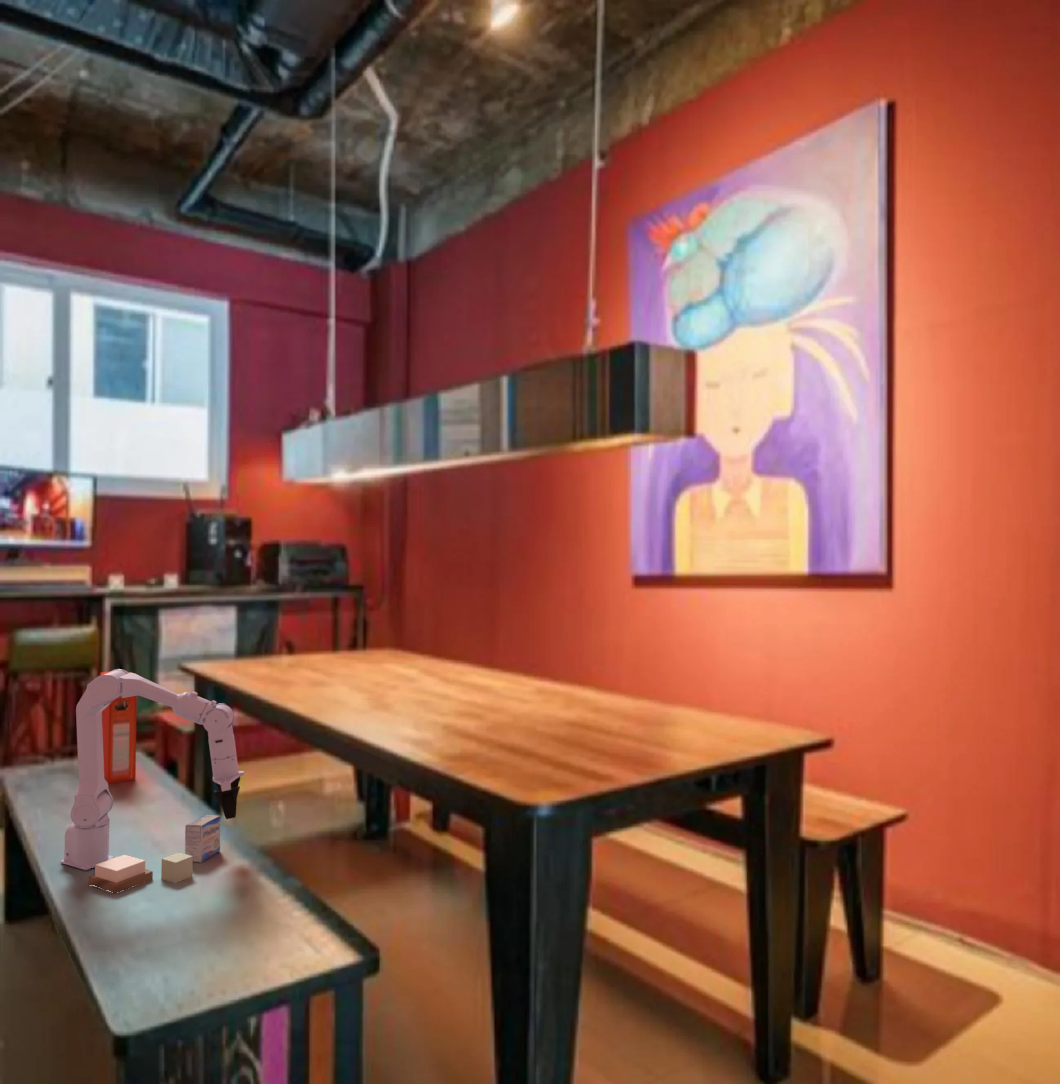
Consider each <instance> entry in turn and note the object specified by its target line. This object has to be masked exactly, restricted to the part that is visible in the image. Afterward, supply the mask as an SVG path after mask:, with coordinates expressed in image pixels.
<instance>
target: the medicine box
mask: <svg viewBox="0 0 1060 1084" xmlns="http://www.w3.org/2000/svg"><path fill="white" fill-rule="evenodd" d="M221 818H222V817H221V815H215V814H205V815H202V816H200V817H198V818H197V819H194V820H192V821H191V822H188V823H187V824H185V828H184V830H185V831H184V835H185V836H184V838H185V839H184V842H185V843H184V854H187V855H190V856H193V863H203V862H205V861H206V859H207V860H208V859H210V858H211V857H213V856H214V855H216V854H218V853H219V852H220V851H221ZM217 852H218V853H217ZM212 855H213V856H212ZM209 857H210V858H209ZM204 860H205V861H204Z"/></svg>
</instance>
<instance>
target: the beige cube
mask: <svg viewBox="0 0 1060 1084" xmlns="http://www.w3.org/2000/svg"><path fill="white" fill-rule="evenodd" d="M193 863H194V862H193V856H190V855H187V854H185V853H182V852H176V853H174V854H171V855H168V856H165V857H163V858H161V872H160V873H161V876H160V878H161V880H164V881H167V882H170V881H171V882H170V883H174V882H175V883H174V884H177V883H178V881H179V882H181V881H183V880H186V879H189V878H192V877H193V868H194V867H193Z"/></svg>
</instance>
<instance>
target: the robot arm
mask: <svg viewBox="0 0 1060 1084" xmlns="http://www.w3.org/2000/svg"><path fill="white" fill-rule="evenodd" d="M108 672H109V673H107V674H104V675H100V674H99V675H98V676H96V677H95V678H94V679H93V680H91V681H90V682H89V683H87V685H86V689H85V691H84V692H83V694H82V696H81V697H80V699H79V701H78V703H77V704H76V709H75V716H76V717H75V718H76V742H77V744H76V745H77V746H76V747H77V768H78V786H77V788H76V791H75V794H74V801H73V802H74V803H73V806H72V808H71V810H70V820H71V821H72V823H70V824H69V826H68V827H67V828H66V830H65V833H64V849H63V850H64V851H63V852H64V857H63V859H61V860H60V863H61V864H64V865H67V866H71V867H73V868H75V869H76V868H77V869H79V870H83V871H88V870H91V868H92V869H93V868H94V869H95V865H96V864H99V863H102V862H105V861H108V860H111V859H113V858H116V857H117V856H113V855H110V854H109V853H110V816H109V815H108V814H109V812H110V811H111V810H112V808H113V806H114V797H113V796H112V794H111V792H110V790H109V783H108V782H107V780H106V779H105V778H104V759H103V734H102V711H103V710H104V709H105V708H106V707H107V706H108V705H109V704H110V703H111V702H112V701H113V700H115V699H116V698H118V697H120V696H122V698H126V697H131V696H137V697H138V696H140V697H142V698H145V699H148V700H151V701H153V702H157V703H158V704H162V705H165V706H168V707H170V708H171V709H172V711H173V713H174V715H176V716H177V717H181V718H182V719H185V720H187V721H189V722H190V721H191V722H192V723H195V724H198V725H200V726H201V725H202V726H203V728H204V730H205V731H206V732H207V736H208V746H209V754H210V762H211V763H210V764H211V771H212V781H213V783H215V785H216V787H217V788H218V789H214V790H213V794H214V797H216V799H217V800H218V802H219V804H220V806H221V809H222V812H223V814H224V817H225V820H229V819H235V818H236V816H237V805H238V804H237V803H238V802H237V801H238V794H239V791H240V789H241V788H240V787H241V786H239V783H240V780H241V777H242V776H245V771H244V770H239V764H238V763H239V762H238V755H237V749H236V747H237V746H236V741H235V740H236V739H235V734H234V729H233V724H232V722H233V720H234V712H233V709H232V708H231V707H230V706H229V705H227V704H226V703H224V702H222V703H217V701H216V700H214V699H212V700H208V699H206V698H203V697H201V696H199V694H198V692H197V691H191V692H189V691H185V692H182V693H177V692H175V691H172V690H170V689H168V688H166V687H164V686H162V685H161V684H158V683H156V682H153V681H152V680H150V679H147V678H145V677H143V676H140V675H138V674H137V673H134V672H131V671H130V672H129V671H127V670H125V669H120V668H116V669H112V670H111V671H108ZM128 672H129V673H128Z"/></svg>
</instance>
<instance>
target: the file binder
mask: <svg viewBox="0 0 1060 1084" xmlns="http://www.w3.org/2000/svg"><path fill="white" fill-rule="evenodd" d="M109 672H110V671H102V672H99V676H100V675H104V674H107V673H109ZM127 672H128V673H130V672H129V671H127ZM137 698H138V696H131V697H126V698H122V696H120V697H118V698H116V699H115V700H113V701H112V702H111V703H110V704H109V705H108V706H107V707H106V708H105V709H104V710H103V711H102V734H103V759H104V779H105V780H106V782H107V783H108V784H113V783H114V784H115V783H120V782H129V781H134V780H136V777H137V776H136V770H137V769H136V766H137V763H136V761H137V759H136V758H137V704H138V703H137Z"/></svg>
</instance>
